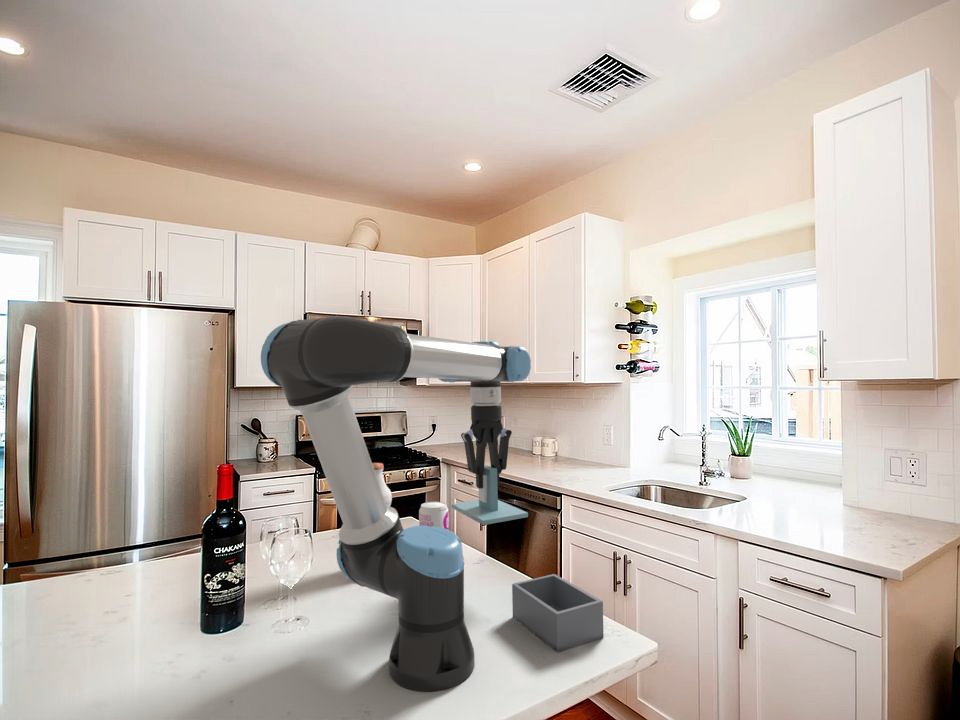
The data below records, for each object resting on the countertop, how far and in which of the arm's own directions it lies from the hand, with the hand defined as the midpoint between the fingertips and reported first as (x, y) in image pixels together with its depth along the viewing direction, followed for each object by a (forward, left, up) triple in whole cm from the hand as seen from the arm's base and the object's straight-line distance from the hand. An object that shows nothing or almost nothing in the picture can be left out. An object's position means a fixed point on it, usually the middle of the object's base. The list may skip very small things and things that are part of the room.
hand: (488, 500), depth 128 cm
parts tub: (-16, -19, -21) cm, 32 cm away
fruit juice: (+2, +32, -21) cm, 38 cm away
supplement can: (+14, +20, -21) cm, 32 cm away
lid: (0, 0, -3) cm, 3 cm away
